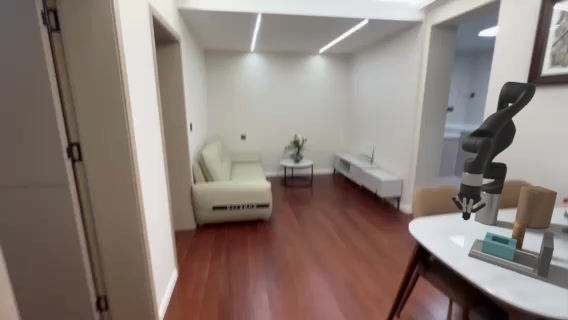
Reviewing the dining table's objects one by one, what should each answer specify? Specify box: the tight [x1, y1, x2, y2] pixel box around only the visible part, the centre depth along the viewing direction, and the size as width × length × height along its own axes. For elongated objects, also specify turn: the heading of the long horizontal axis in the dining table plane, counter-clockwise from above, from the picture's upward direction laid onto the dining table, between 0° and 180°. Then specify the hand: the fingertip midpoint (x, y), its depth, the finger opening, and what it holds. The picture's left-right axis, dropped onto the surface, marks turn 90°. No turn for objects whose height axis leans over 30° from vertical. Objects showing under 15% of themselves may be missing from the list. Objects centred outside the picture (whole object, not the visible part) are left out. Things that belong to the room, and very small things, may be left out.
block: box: [514, 185, 558, 229], centre depth 135 cm, size 10×10×20 cm
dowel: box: [511, 219, 528, 251], centre depth 114 cm, size 4×4×13 cm
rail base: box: [467, 230, 555, 283], centre depth 107 cm, size 24×16×14 cm
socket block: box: [482, 231, 517, 262], centre depth 109 cm, size 10×10×6 cm
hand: (465, 219), depth 116 cm, fingers closed
